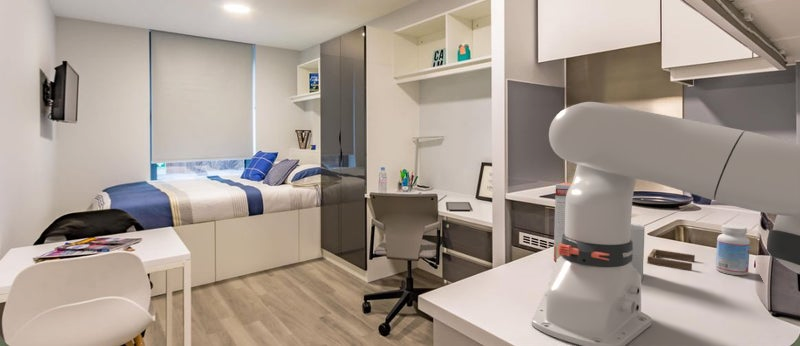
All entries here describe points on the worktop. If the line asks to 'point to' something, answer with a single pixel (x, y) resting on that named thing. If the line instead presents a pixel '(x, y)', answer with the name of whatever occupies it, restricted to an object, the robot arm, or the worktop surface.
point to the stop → (671, 262)
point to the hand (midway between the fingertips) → (771, 254)
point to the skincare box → (637, 247)
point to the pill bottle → (733, 250)
